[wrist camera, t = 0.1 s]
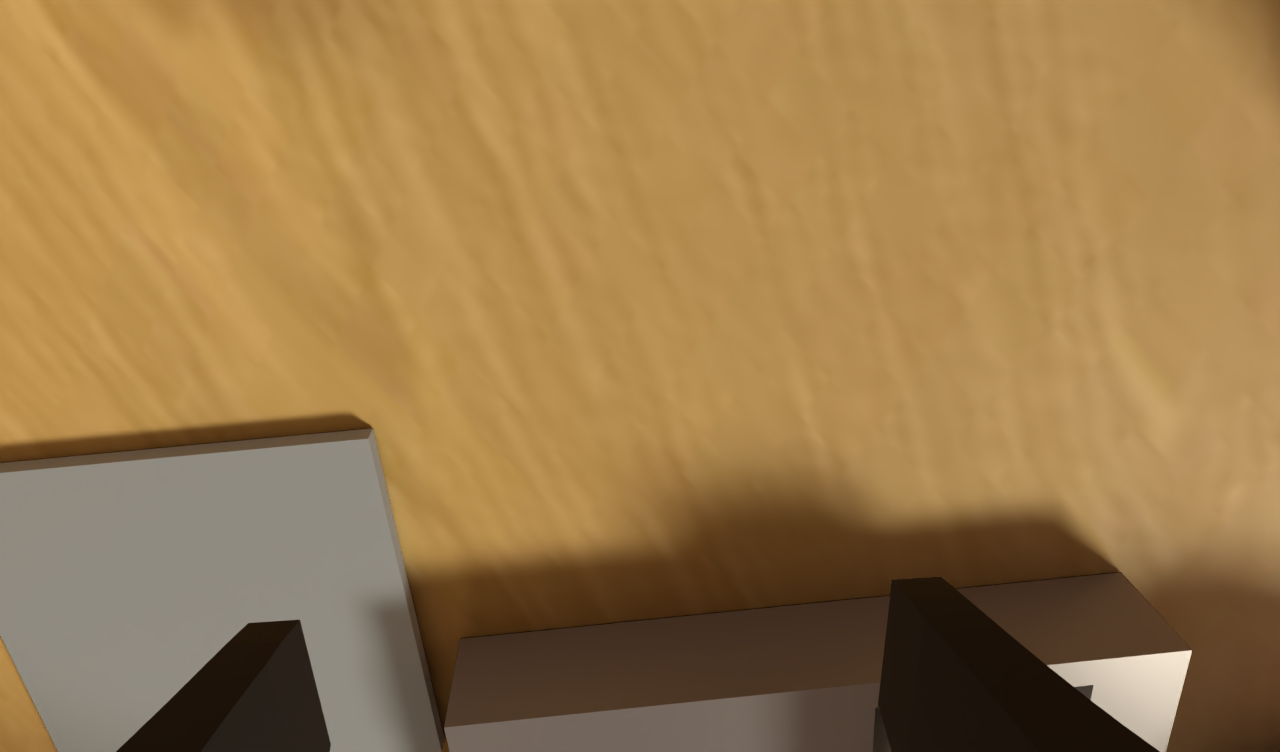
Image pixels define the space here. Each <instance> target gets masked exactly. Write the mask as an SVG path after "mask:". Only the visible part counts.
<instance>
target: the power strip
mask: <svg viewBox="0 0 1280 752" xmlns="http://www.w3.org/2000/svg"><path fill="white" fill-rule="evenodd" d="M956 590H957V591H959V592H960V593H961V594H962V595H963V596H965V597H966V598H967V599H968V600H969V601H971V602H972V603H973V604H974V605H975V606H976V607H978V608H979V609H980V610H981V611H982V612H984V613H985V614H986V615H987V616H988V617H989V618H991V619H992V620H993V621H994V622H995V623H997V624H998V625H999V626H1000V627H1001V628H1002V629H1004V630H1005V631H1006V632H1007V633H1008V634H1010V635H1011V636H1012V637H1013V638H1014V639H1016V640H1017V641H1018V642H1019V643H1020V644H1022V645H1023V646H1024V647H1025V648H1026V649H1028V650H1029V651H1030V652H1031V653H1032V654H1034V655H1035V656H1036V657H1037V658H1039V659H1040V660H1041V661H1042V662H1043V663H1045V664H1046V665H1047V666H1048V667H1049V668H1051V669H1052V670H1053V671H1054V672H1056V673H1057V674H1058V675H1059V676H1061V677H1062V678H1063V679H1064V680H1066V681H1067V682H1068V683H1069V684H1071V685H1072V686H1073V687H1074V688H1076V689H1077V690H1078V691H1080V692H1081V693H1082V694H1083V695H1085V696H1086V697H1087V698H1088V699H1090V700H1091V701H1092V702H1094V703H1095V704H1096V705H1098V706H1099V707H1100V708H1101V709H1103V710H1104V711H1105V712H1107V713H1108V714H1109V715H1111V716H1112V717H1113V718H1115V719H1116V720H1117V721H1119V722H1120V723H1121V724H1123V725H1124V726H1125V727H1127V728H1128V729H1129V730H1131V731H1132V732H1134V733H1135V734H1136V735H1138V736H1139V737H1140V738H1142V739H1143V740H1145V741H1146V742H1147V743H1149V744H1150V745H1151V746H1153V747H1154V748H1156V749H1157V750H1158V751H1160V752H1166V749H1167V746H1168V742H1169V738H1170V734H1171V730H1172V726H1173V722H1174V719H1175V715H1176V711H1177V707H1178V703H1179V699H1180V695H1181V692H1182V688H1183V684H1184V680H1185V676H1186V672H1187V669H1188V665H1189V661H1190V657H1191V653H1192V649H1191V648H1190V647H1189V646H1188V645H1187V644H1186V643H1185V642H1184V641H1183V640H1182V638H1181V637H1180V636H1179V635H1178V634H1177V633H1176V632H1175V631H1174V630H1173V629H1172V627H1171V626H1170V625H1169V624H1168V623H1167V622H1166V621H1165V620H1164V619H1163V618H1162V617H1161V615H1160V614H1159V613H1158V612H1157V611H1156V610H1155V609H1154V608H1153V607H1152V606H1151V604H1150V603H1149V602H1148V601H1147V600H1146V599H1145V598H1144V597H1143V596H1142V595H1141V594H1140V592H1139V591H1138V590H1137V589H1136V588H1135V587H1134V586H1133V585H1132V584H1131V583H1130V581H1129V580H1128V579H1127V578H1126V577H1125V576H1124V575H1123V574H1122V573H1121V572H1120V573H1110V574H1100V575H1090V576H1080V577H1070V578H1060V579H1050V580H1041V581H1031V582H1021V583H1011V584H1001V585H991V586H981V587H971V588H961V589H956ZM889 602H890V596H881V597H871V598H861V599H851V600H841V601H832V602H822V603H812V604H802V605H792V606H782V607H772V608H762V609H752V610H742V611H732V612H722V613H712V614H702V615H692V616H682V617H672V618H662V619H652V620H642V621H633V622H623V623H613V624H603V625H593V626H583V627H573V628H563V629H553V630H543V631H533V632H523V633H513V634H503V635H493V636H483V637H473V638H463V639H460V641H459V647H458V652H457V658H456V663H455V669H454V675H453V680H452V686H451V691H450V697H449V702H448V708H447V714H446V719H445V725H444V730H445V734H446V738H447V743H448V747H449V752H873V738H874V721H875V708H877V707H878V699H879V690H880V681H881V672H882V664H883V655H884V646H885V637H886V629H887V620H888V611H889Z"/></svg>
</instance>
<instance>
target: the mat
mask: <svg viewBox="0 0 1280 752" xmlns="http://www.w3.org/2000/svg"><path fill="white" fill-rule="evenodd" d="M286 620H300V622H301V626H302V630H303V634H304V638H305V642H306V646H307V650H308V654H309V658H310V662H311V666H312V670H313V674H314V678H315V682H316V686H317V690H318V694H319V698H320V702H321V706H322V711H323V715H324V719H325V723H326V727H327V731H328V735H329V739H330V743H331V747H330V752H442V748H443V742H444V735H443V730H442V726H441V722H440V717H439V713H438V709H437V704H436V700H435V696H434V691H433V687H432V683H431V678H430V674H429V670H428V665H427V661H426V657H425V652H424V648H423V644H422V639H421V635H420V630H419V626H418V622H417V617H416V613H415V609H414V604H413V600H412V596H411V591H410V587H409V583H408V578H407V574H406V570H405V565H404V561H403V557H402V552H401V548H400V544H399V539H398V535H397V531H396V526H395V522H394V518H393V513H392V509H391V505H390V500H389V496H388V492H387V487H386V483H385V478H384V474H383V470H382V465H381V461H380V457H379V452H378V448H377V444H376V439H375V435H374V431H373V428H371V429H360V430H349V431H338V432H328V433H317V434H306V435H295V436H285V437H274V438H263V439H252V440H242V441H231V442H220V443H210V444H199V445H188V446H177V447H167V448H156V449H145V450H134V451H124V452H113V453H102V454H92V455H81V456H70V457H59V458H49V459H38V460H27V461H16V462H6V463H0V636H1V638H2V640H3V642H4V644H5V646H6V648H7V650H8V652H9V654H10V656H11V658H12V660H13V662H14V664H15V666H16V668H17V670H18V672H19V674H20V676H21V678H22V680H23V682H24V684H25V686H26V688H27V690H28V692H29V694H30V696H31V698H32V700H33V703H34V705H35V707H36V709H37V711H38V713H39V715H40V717H41V719H42V721H43V723H44V725H45V727H46V729H47V731H48V733H49V735H50V737H51V739H52V741H53V743H54V745H55V747H56V749H57V751H58V752H116V751H117V750H118V749H119V748H120V747H121V746H122V745H123V744H124V743H126V742H127V741H128V740H129V739H130V738H131V737H132V736H133V735H134V734H135V733H136V732H137V731H138V730H139V729H140V728H141V727H142V726H143V725H144V724H145V723H146V722H147V721H148V720H149V719H150V718H152V717H153V716H154V715H155V714H156V713H157V712H158V711H159V710H160V709H161V708H162V707H163V706H164V705H165V704H166V703H167V702H168V701H169V700H170V699H171V698H172V697H173V696H174V695H175V694H176V693H177V692H178V691H179V690H180V689H181V688H182V687H183V686H184V685H185V684H186V683H187V682H188V681H189V680H190V679H191V678H192V677H193V676H194V675H195V674H196V673H197V672H198V671H199V670H200V669H201V668H202V667H203V666H204V665H205V664H206V663H207V662H208V661H209V660H210V659H211V658H213V657H214V656H215V655H216V654H217V653H218V652H219V651H220V650H221V649H222V648H223V647H224V646H225V645H226V644H227V643H228V642H229V641H230V640H231V639H232V638H233V637H234V636H235V635H236V634H237V633H238V632H239V631H240V630H241V629H243V628H244V627H245V626H246V625H247V624H248V623H256V622H271V621H286Z"/></svg>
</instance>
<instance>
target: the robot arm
mask: <svg viewBox="0 0 1280 752" xmlns="http://www.w3.org/2000/svg"><path fill="white" fill-rule="evenodd" d="M878 707H879V710H880V714H881V717H882V721H883V724H884V728H885V731H886V734H887V738H888V741H889V745H890V748H891V751H892V752H1160V751H1158V750H1157V749H1156V748H1154V747H1153V746H1151V745H1150V744H1149V743H1147V742H1146V741H1145V740H1143V739H1142V738H1140V737H1139V736H1138V735H1136V734H1135V733H1134V732H1132V731H1131V730H1129V729H1128V728H1127V727H1125V726H1124V725H1123V724H1121V723H1120V722H1119V721H1117V720H1116V719H1115V718H1113V717H1112V716H1111V715H1109V714H1108V713H1107V712H1105V711H1104V710H1103V709H1101V708H1100V707H1099V706H1098V705H1096V704H1095V703H1094V702H1092V701H1091V700H1090V699H1088V698H1087V697H1086V696H1085V695H1083V694H1082V693H1081V692H1080V691H1078V690H1077V689H1076V688H1074V687H1073V686H1072V685H1071V684H1069V683H1068V682H1067V681H1066V680H1064V679H1063V678H1062V677H1061V676H1059V675H1058V674H1057V673H1056V672H1054V671H1053V670H1052V669H1051V668H1049V667H1048V666H1047V665H1046V664H1045V663H1043V662H1042V661H1041V660H1040V659H1039V658H1037V657H1036V656H1035V655H1034V654H1032V653H1031V652H1030V651H1029V650H1028V649H1026V648H1025V647H1024V646H1023V645H1022V644H1020V643H1019V642H1018V641H1017V640H1016V639H1014V638H1013V637H1012V636H1011V635H1010V634H1008V633H1007V632H1006V631H1005V630H1004V629H1002V628H1001V627H1000V626H999V625H998V624H997V623H995V622H994V621H993V620H992V619H991V618H989V617H988V616H987V615H986V614H985V613H984V612H982V611H981V610H980V609H979V608H978V607H976V606H975V605H974V604H973V603H972V602H971V601H969V600H968V599H967V598H966V597H965V596H963V595H962V594H961V593H960V592H959V591H957V590H956V589H955V588H954V587H953V586H951V585H950V584H949V583H948V582H946V581H945V580H944V579H943V578H941V577H931V578H916V579H901V580H892V585H891V594H890V602H889V611H888V620H887V629H886V637H885V646H884V655H883V664H882V672H881V681H880V690H879V699H878ZM330 747H331V743H330V739H329V735H328V731H327V727H326V723H325V719H324V715H323V711H322V706H321V702H320V698H319V694H318V690H317V686H316V682H315V678H314V674H313V670H312V666H311V662H310V658H309V654H308V650H307V646H306V642H305V638H304V634H303V630H302V626H301V622H300V620H286V621H271V622H256V623H248V624H247V625H246V626H245V627H244V628H243V629H241V630H240V631H239V632H238V633H237V634H236V635H235V636H234V637H233V638H232V639H231V640H230V641H229V642H228V643H227V644H226V645H225V646H224V647H223V648H222V649H221V650H220V651H219V652H218V653H217V654H216V655H215V656H214V657H213V658H211V659H210V660H209V661H208V662H207V663H206V664H205V665H204V666H203V667H202V668H201V669H200V670H199V671H198V672H197V673H196V674H195V675H194V676H193V677H192V678H191V679H190V680H189V681H188V682H187V683H186V684H185V685H184V686H183V687H182V688H181V689H180V690H179V691H178V692H177V693H176V694H175V695H174V696H173V697H172V698H171V699H170V700H169V701H168V702H167V703H166V704H165V705H164V706H163V707H162V708H161V709H160V710H159V711H158V712H157V713H156V714H155V715H154V716H153V717H152V718H150V719H149V720H148V721H147V722H146V723H145V724H144V725H143V726H142V727H141V728H140V729H139V730H138V731H137V732H136V733H135V734H134V735H133V736H132V737H131V738H130V739H129V740H128V741H127V742H126V743H124V744H123V745H122V746H121V747H120V748H119V749H118V750H117V751H116V752H330Z"/></svg>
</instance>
